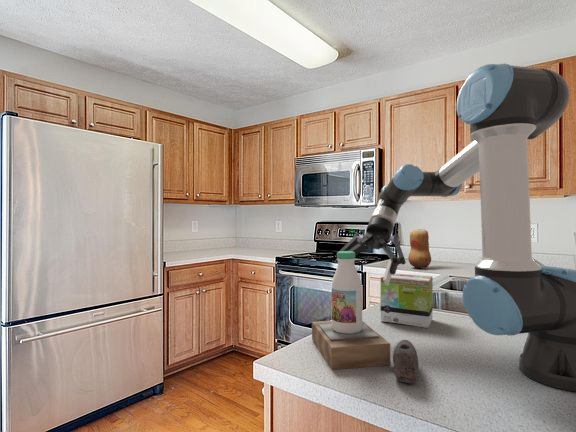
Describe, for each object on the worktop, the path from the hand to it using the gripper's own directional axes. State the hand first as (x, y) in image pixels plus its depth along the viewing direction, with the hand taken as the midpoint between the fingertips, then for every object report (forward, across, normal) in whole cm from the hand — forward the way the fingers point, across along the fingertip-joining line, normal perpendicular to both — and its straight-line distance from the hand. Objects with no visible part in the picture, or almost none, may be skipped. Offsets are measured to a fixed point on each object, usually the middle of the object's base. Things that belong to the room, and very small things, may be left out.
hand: (361, 280), depth 100 cm
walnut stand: (+18, 0, -5) cm, 19 cm away
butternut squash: (-87, +24, -111) cm, 143 cm away
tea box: (-5, -4, -29) cm, 30 cm away
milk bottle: (+15, 0, -2) cm, 15 cm away
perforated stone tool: (+22, -16, -2) cm, 27 cm away
